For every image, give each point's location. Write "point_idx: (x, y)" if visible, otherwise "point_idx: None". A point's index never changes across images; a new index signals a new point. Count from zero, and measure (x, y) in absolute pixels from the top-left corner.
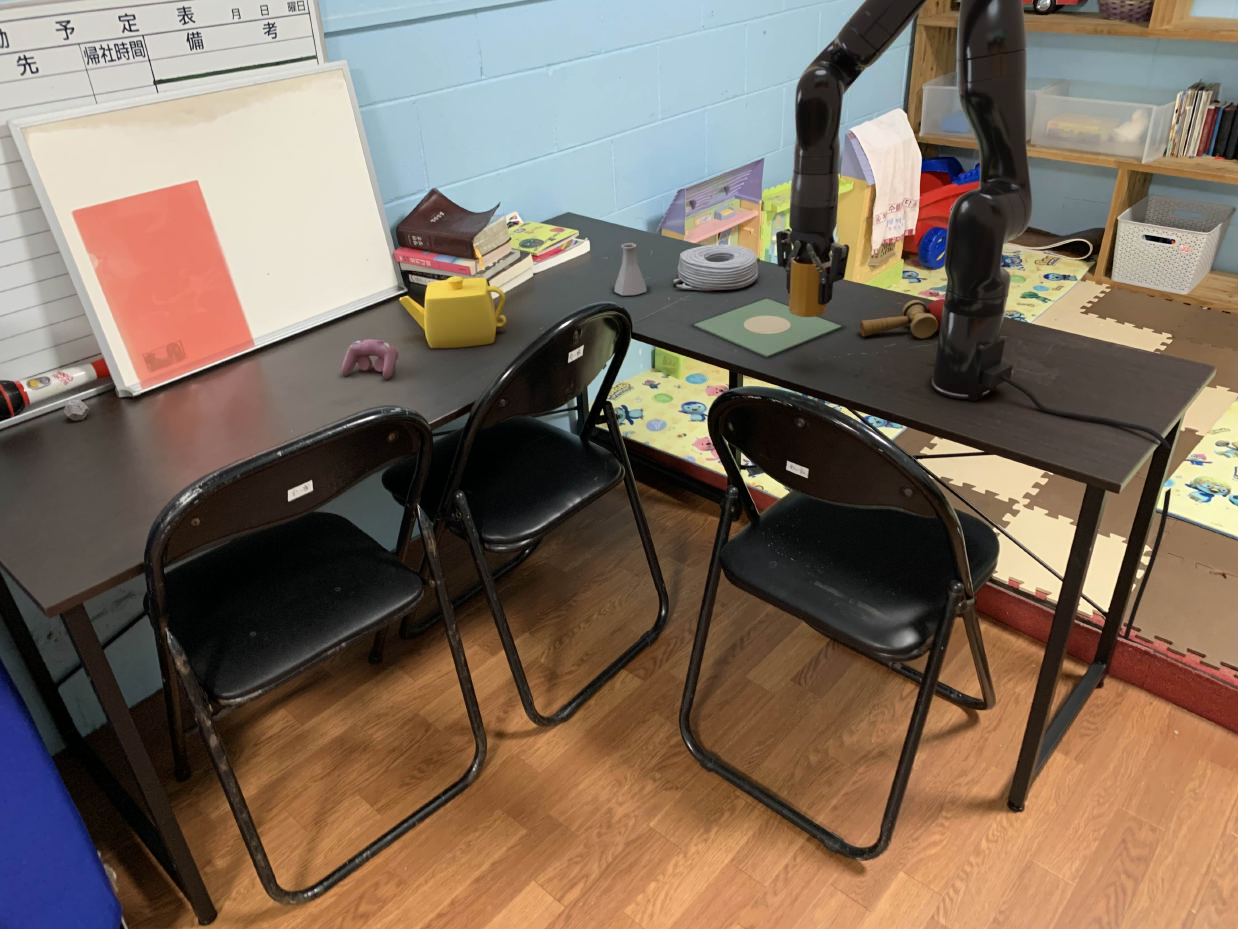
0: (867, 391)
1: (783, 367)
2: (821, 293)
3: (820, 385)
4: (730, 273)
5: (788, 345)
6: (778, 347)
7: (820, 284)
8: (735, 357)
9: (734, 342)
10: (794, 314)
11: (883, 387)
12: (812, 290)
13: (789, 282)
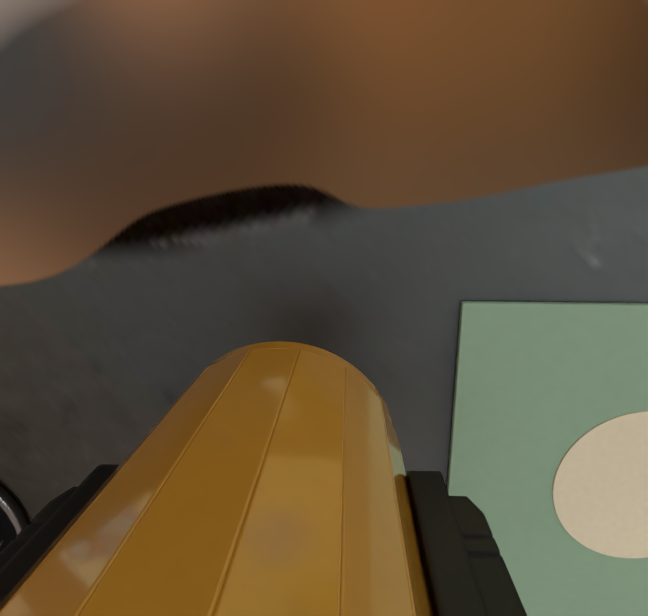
0: (76, 344)
1: (365, 284)
2: (48, 519)
3: (188, 272)
4: None
5: (465, 414)
6: (479, 379)
7: (4, 591)
8: (553, 217)
9: (643, 303)
10: (283, 341)
11: (70, 395)
12: (92, 497)
13: (443, 537)
